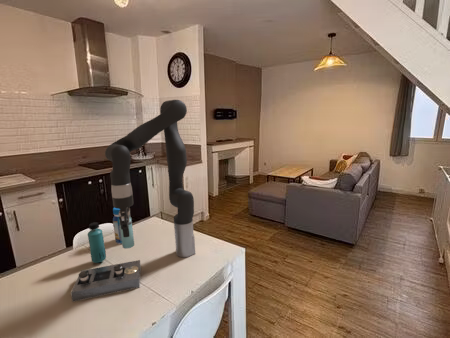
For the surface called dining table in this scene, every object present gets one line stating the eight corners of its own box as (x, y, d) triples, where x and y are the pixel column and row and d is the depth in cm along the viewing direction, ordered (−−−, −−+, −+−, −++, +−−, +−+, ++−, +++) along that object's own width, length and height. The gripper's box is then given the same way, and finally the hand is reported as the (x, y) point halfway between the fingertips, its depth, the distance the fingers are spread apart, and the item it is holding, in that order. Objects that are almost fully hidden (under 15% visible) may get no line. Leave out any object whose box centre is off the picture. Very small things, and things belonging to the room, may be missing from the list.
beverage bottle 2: (127, 244, 132) (123, 210, 128) (112, 244, 132) (108, 210, 128) (133, 237, 140) (129, 204, 136) (119, 237, 140) (115, 205, 137)
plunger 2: (124, 273, 103) (123, 263, 102) (123, 278, 100) (122, 268, 99) (115, 275, 102) (114, 265, 101) (114, 280, 99) (113, 270, 98)
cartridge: (134, 242, 102) (131, 215, 100) (134, 247, 98) (131, 220, 96) (123, 244, 101) (119, 217, 99) (121, 249, 97) (118, 221, 94)
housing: (140, 267, 110) (139, 259, 109) (139, 287, 97) (138, 278, 96) (82, 279, 103) (80, 270, 102) (72, 301, 90) (70, 291, 89)
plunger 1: (91, 280, 99) (89, 269, 98) (89, 285, 96) (87, 275, 95) (81, 282, 98) (79, 271, 97) (79, 287, 95) (77, 276, 94)
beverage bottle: (100, 266, 112) (94, 226, 108) (88, 265, 113) (82, 226, 109) (109, 258, 118) (104, 221, 114) (98, 257, 120) (92, 220, 116)
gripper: (131, 198, 90) (135, 240, 93) (133, 188, 103) (137, 225, 106) (109, 201, 87) (114, 243, 91) (114, 190, 101) (119, 228, 104)
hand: (127, 233), depth 99 cm, fingers closed on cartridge, 4 cm apart
